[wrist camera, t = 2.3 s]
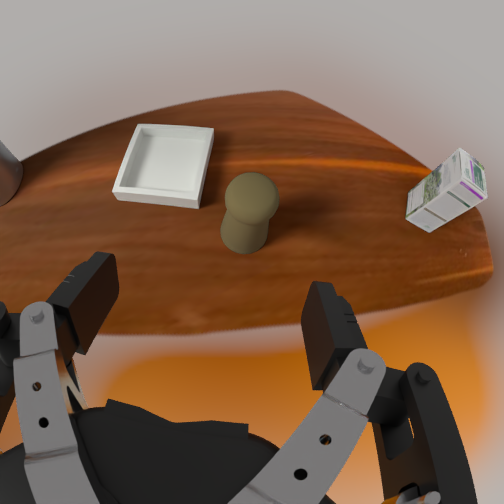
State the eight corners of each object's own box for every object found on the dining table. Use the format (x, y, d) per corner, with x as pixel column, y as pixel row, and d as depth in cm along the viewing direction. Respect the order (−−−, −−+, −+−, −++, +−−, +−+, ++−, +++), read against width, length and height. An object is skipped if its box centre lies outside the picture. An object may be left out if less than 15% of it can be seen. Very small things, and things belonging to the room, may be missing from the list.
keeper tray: (118, 200, 34) (112, 191, 32) (141, 134, 38) (137, 123, 35) (198, 208, 35) (197, 200, 33) (213, 139, 39) (213, 128, 36)
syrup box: (429, 234, 39) (490, 199, 25) (403, 219, 39) (463, 176, 25) (431, 206, 40) (486, 167, 26) (406, 190, 40) (459, 145, 26)
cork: (240, 200, 36) (248, 151, 26) (277, 228, 36) (299, 187, 25) (210, 233, 35) (206, 193, 24) (248, 263, 34) (260, 234, 24)
